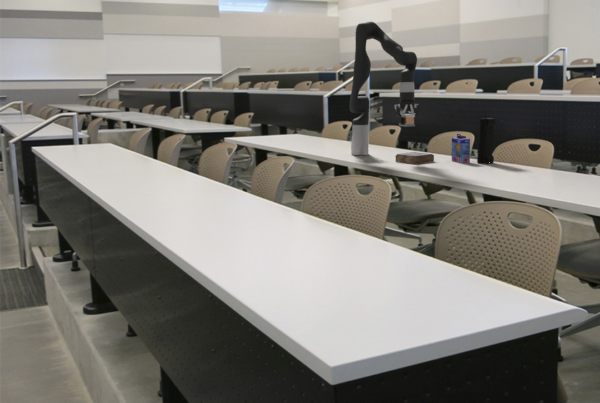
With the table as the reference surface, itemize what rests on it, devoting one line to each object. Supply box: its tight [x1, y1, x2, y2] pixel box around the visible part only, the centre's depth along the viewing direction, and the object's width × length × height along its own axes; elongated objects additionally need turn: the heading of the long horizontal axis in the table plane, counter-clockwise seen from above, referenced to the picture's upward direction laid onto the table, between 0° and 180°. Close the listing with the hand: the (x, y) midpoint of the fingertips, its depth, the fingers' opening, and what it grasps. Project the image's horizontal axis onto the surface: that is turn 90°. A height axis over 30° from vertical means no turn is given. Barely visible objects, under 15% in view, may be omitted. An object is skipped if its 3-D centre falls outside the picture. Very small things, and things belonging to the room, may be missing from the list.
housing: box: [398, 113, 416, 127], centre depth 333 cm, size 5×8×6 cm, turn 18°
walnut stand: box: [395, 151, 435, 165], centre depth 336 cm, size 14×14×4 cm
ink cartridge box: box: [451, 133, 471, 164], centre depth 331 cm, size 10×6×14 cm, turn 17°
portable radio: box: [476, 113, 496, 164], centre depth 324 cm, size 8×6×25 cm
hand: (406, 124), depth 333 cm, fingers closed on housing, 5 cm apart
